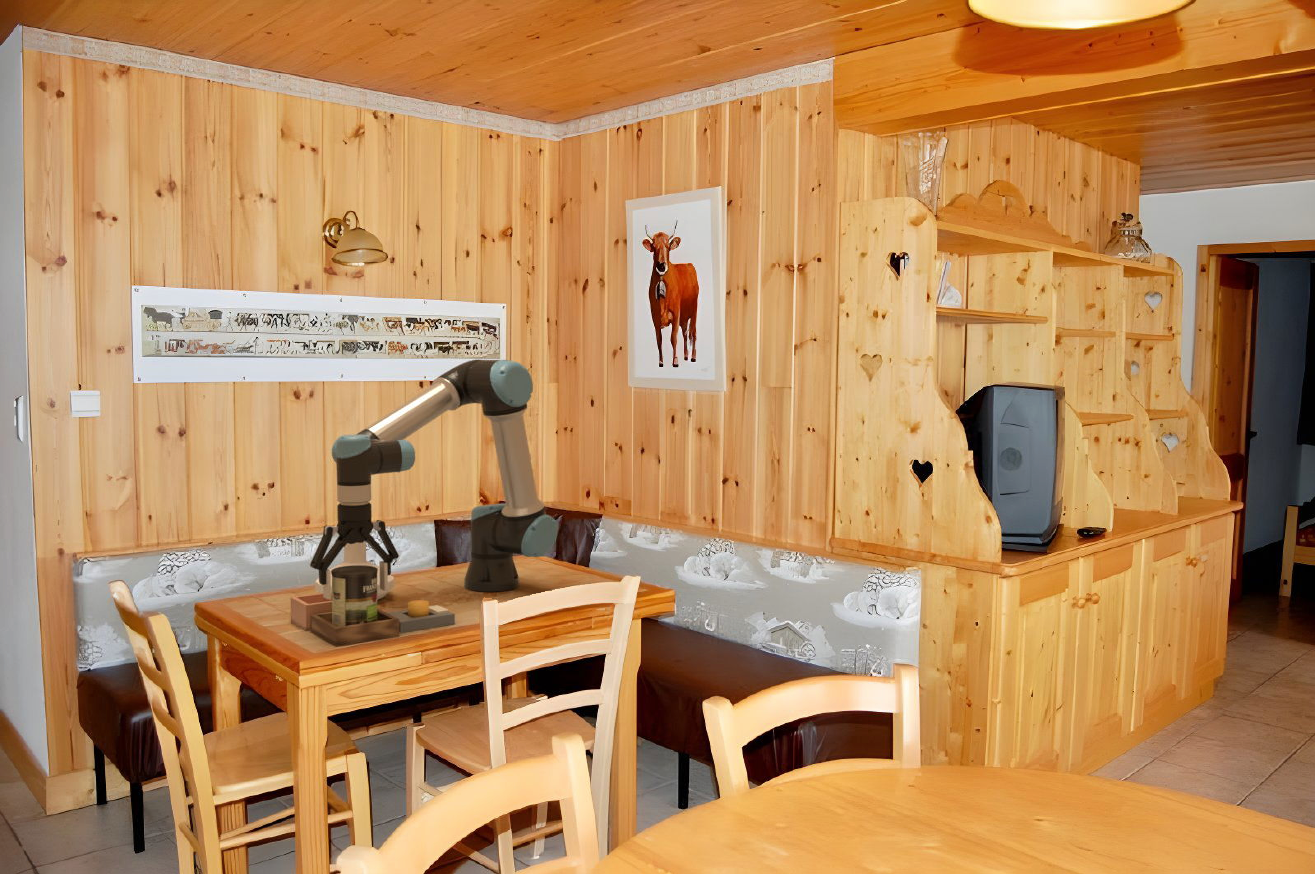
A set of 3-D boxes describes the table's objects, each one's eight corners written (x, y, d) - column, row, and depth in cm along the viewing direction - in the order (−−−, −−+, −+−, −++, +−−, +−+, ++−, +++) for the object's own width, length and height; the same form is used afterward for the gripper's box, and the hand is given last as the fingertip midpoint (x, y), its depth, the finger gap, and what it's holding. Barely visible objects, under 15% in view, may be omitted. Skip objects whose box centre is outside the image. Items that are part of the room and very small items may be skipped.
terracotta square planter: (331, 615, 258) (331, 591, 257) (347, 624, 250) (347, 599, 250) (290, 621, 252) (290, 597, 251) (306, 630, 244) (305, 605, 243)
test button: (423, 615, 255) (423, 599, 255) (432, 619, 252) (432, 603, 251) (404, 618, 252) (404, 601, 252) (413, 622, 248) (413, 606, 248)
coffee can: (385, 625, 246) (385, 566, 245) (364, 636, 236) (364, 575, 235) (345, 622, 248) (344, 563, 247) (322, 633, 238) (322, 572, 237)
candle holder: (315, 592, 283) (314, 521, 281) (391, 588, 289) (391, 519, 287) (315, 609, 264) (314, 533, 262) (396, 605, 270) (397, 531, 268)
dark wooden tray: (371, 622, 252) (371, 606, 252) (399, 636, 241) (399, 619, 241) (310, 631, 243) (310, 614, 243) (335, 646, 231) (335, 628, 231)
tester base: (435, 615, 260) (435, 603, 260) (454, 624, 252) (454, 611, 252) (382, 623, 251) (382, 610, 251) (400, 632, 244) (400, 619, 243)
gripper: (398, 495, 250) (399, 583, 252) (294, 505, 235) (296, 598, 237) (412, 499, 244) (413, 589, 246) (306, 509, 229) (308, 605, 231)
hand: (356, 593), depth 242 cm, fingers open, 13 cm apart
